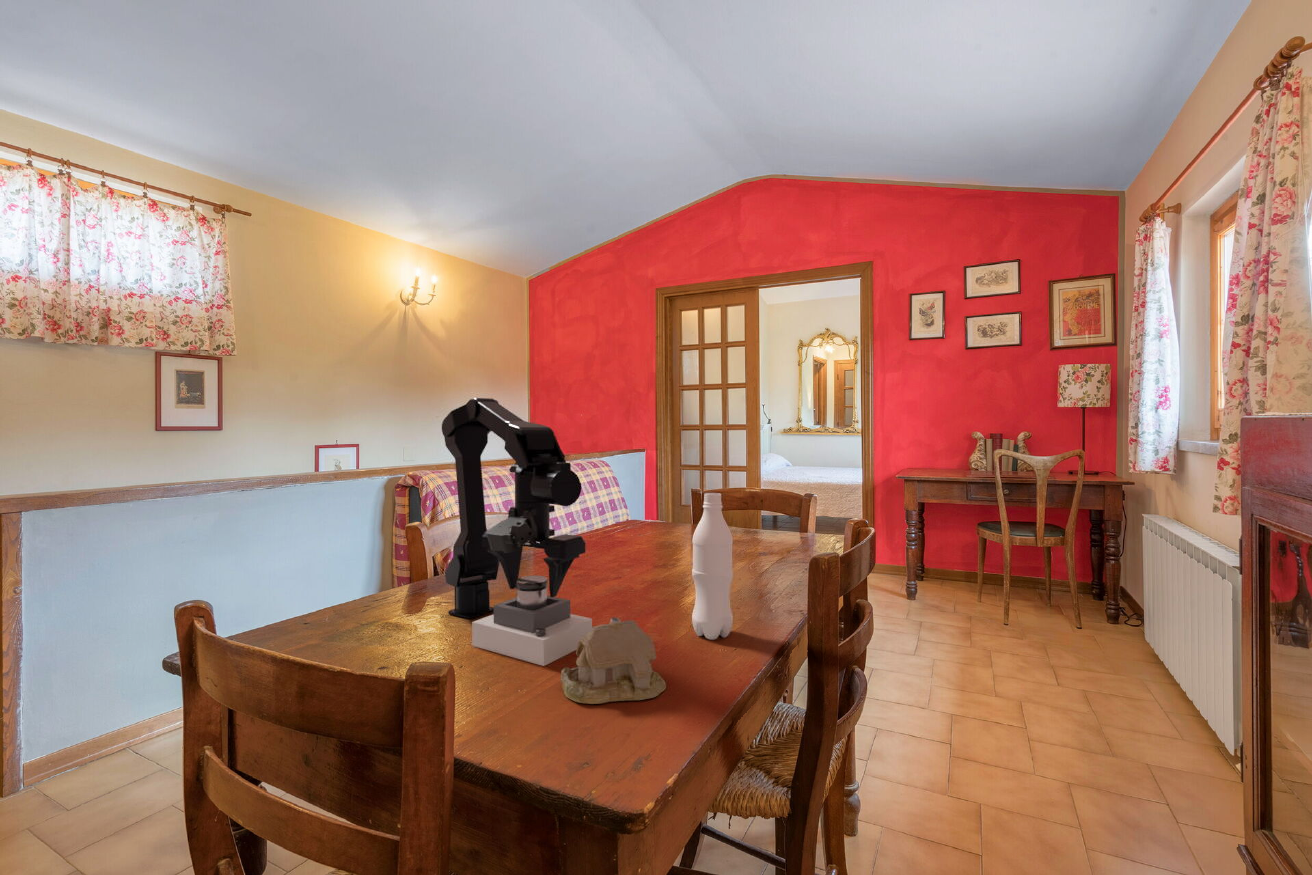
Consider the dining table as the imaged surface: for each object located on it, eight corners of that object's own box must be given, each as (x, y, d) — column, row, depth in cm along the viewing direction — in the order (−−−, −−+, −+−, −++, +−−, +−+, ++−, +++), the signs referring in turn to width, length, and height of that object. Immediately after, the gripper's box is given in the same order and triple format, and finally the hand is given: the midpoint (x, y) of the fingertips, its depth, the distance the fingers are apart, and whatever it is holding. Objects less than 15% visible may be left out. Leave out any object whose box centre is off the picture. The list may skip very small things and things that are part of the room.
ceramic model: (643, 665, 91) (643, 601, 91) (676, 695, 81) (676, 623, 81) (554, 682, 85) (554, 613, 85) (578, 717, 75) (578, 639, 75)
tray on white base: (472, 645, 99) (472, 604, 99) (523, 625, 109) (523, 587, 109) (543, 666, 90) (543, 620, 90) (591, 641, 101) (591, 601, 101)
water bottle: (706, 644, 99) (706, 497, 99) (684, 631, 106) (684, 492, 105) (740, 637, 103) (741, 494, 102) (718, 625, 109) (718, 490, 109)
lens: (509, 621, 99) (509, 580, 99) (531, 613, 103) (531, 573, 103) (532, 627, 96) (532, 584, 96) (554, 618, 100) (553, 577, 100)
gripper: (456, 502, 97) (456, 595, 98) (540, 510, 87) (541, 614, 88) (506, 495, 107) (506, 580, 107) (587, 502, 97) (587, 596, 97)
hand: (532, 592), depth 100 cm, fingers open, 9 cm apart
